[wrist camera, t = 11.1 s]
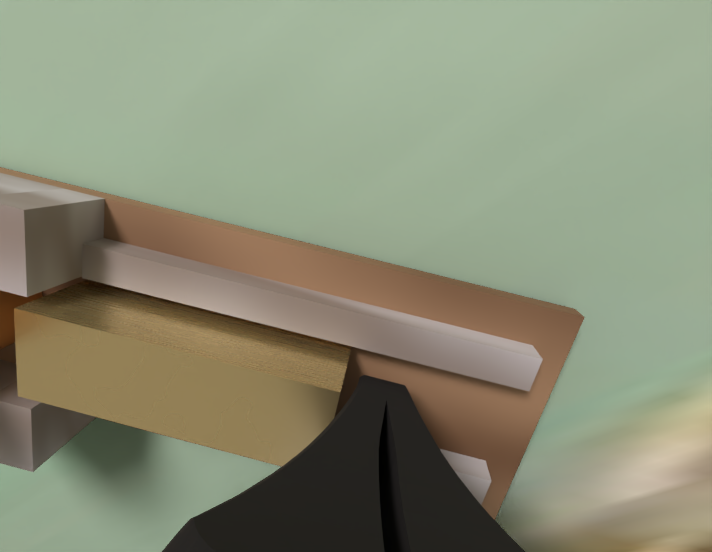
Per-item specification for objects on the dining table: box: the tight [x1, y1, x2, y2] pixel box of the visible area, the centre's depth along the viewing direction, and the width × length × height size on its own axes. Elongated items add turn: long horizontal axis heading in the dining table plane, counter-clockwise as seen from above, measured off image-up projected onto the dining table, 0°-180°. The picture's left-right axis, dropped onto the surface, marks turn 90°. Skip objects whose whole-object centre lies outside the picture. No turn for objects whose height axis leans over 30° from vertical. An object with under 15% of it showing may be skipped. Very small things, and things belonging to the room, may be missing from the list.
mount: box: [0, 167, 584, 520], centre depth 11 cm, size 8×21×3 cm, turn 77°
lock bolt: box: [14, 279, 352, 466], centre depth 11 cm, size 2×8×2 cm, turn 77°
